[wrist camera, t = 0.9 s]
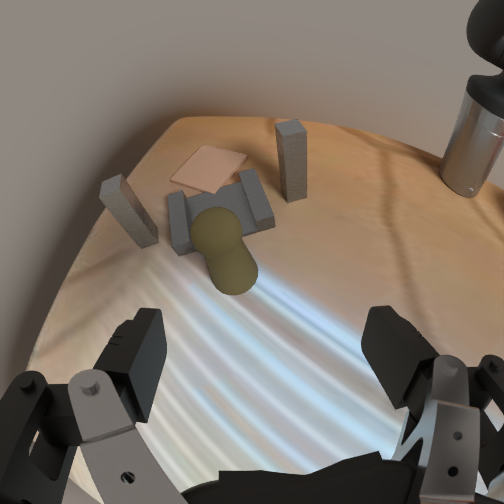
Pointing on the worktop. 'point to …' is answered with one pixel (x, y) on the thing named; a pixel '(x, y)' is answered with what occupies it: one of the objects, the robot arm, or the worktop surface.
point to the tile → (208, 169)
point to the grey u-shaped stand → (215, 196)
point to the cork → (224, 250)
